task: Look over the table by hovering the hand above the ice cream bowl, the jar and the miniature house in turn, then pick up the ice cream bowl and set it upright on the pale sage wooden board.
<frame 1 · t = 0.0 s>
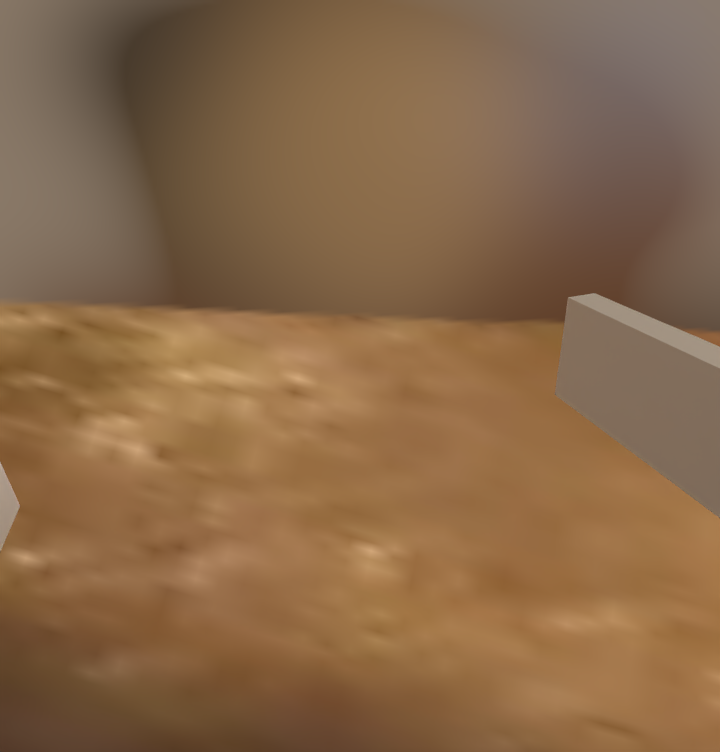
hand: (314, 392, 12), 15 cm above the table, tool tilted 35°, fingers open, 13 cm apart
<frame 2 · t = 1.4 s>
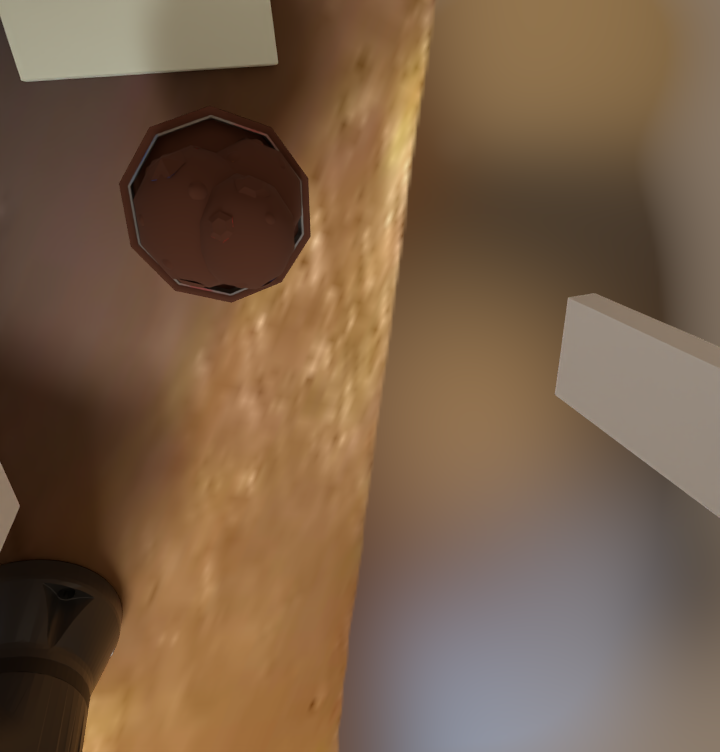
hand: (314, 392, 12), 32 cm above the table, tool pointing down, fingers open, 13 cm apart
ice cream bowl: (212, 194, 39), on the table
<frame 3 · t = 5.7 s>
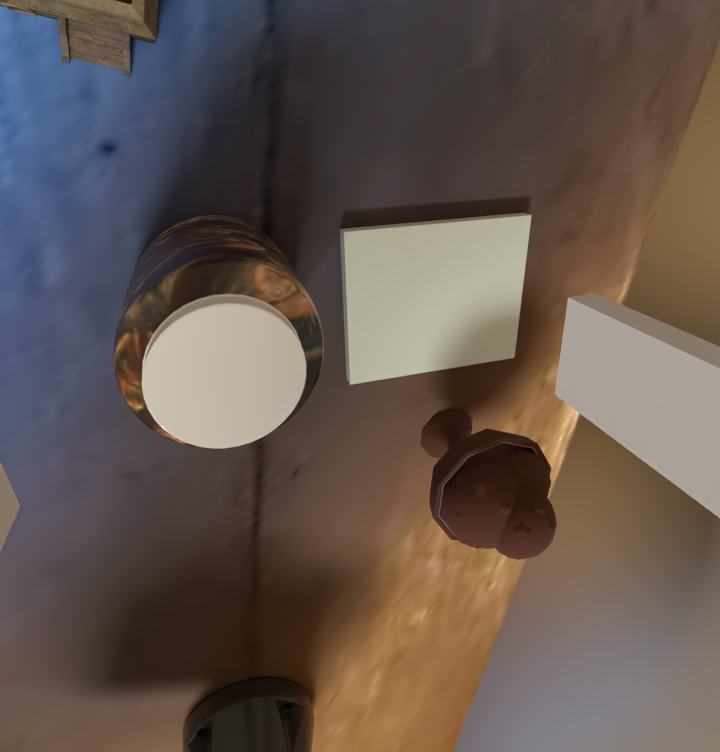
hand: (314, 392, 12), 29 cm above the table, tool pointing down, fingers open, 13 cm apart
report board: (432, 297, 45), on the table
jar: (214, 292, 40), on the table
ice cream bowl: (445, 432, 52), on the table
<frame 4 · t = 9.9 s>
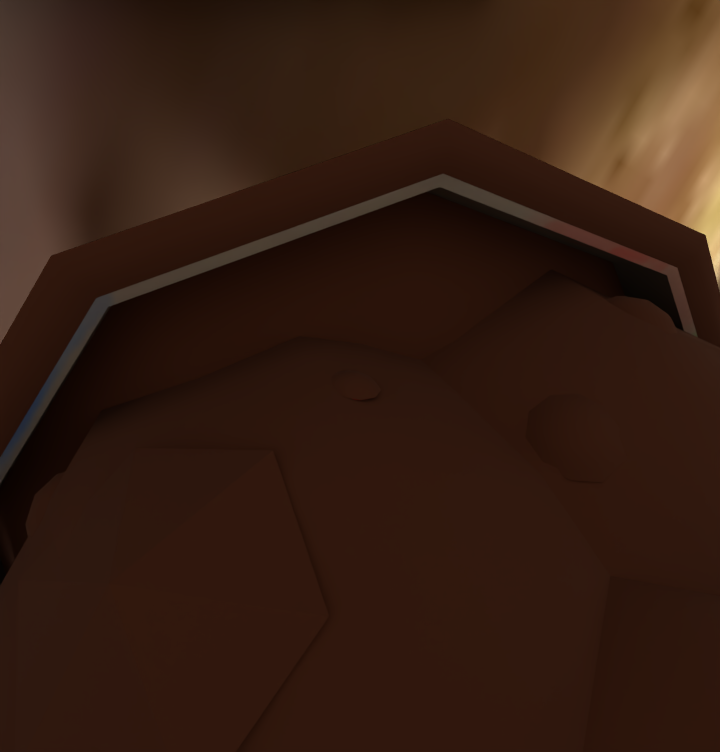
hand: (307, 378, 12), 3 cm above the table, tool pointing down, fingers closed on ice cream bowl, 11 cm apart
ice cream bowl: (286, 332, 15), on the table, touching gripper
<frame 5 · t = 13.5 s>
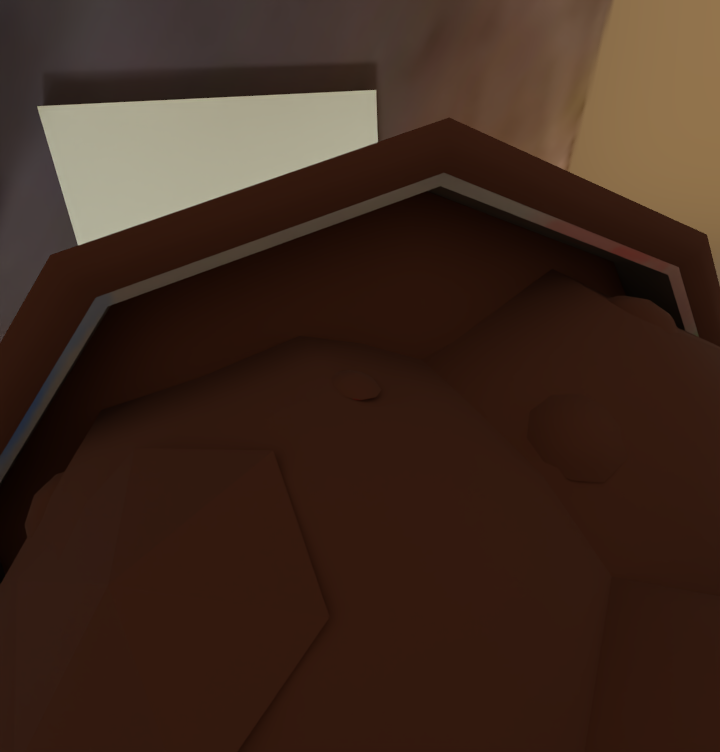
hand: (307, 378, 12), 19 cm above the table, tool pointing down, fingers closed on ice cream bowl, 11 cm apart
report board: (238, 229, 29), on the table
ice cream bowl: (286, 332, 15), point 16 cm above the table, touching gripper
when the fingers open (5 cm above the table, at t = 17.0 s): ice cream bowl drops 1 cm, resting on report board.
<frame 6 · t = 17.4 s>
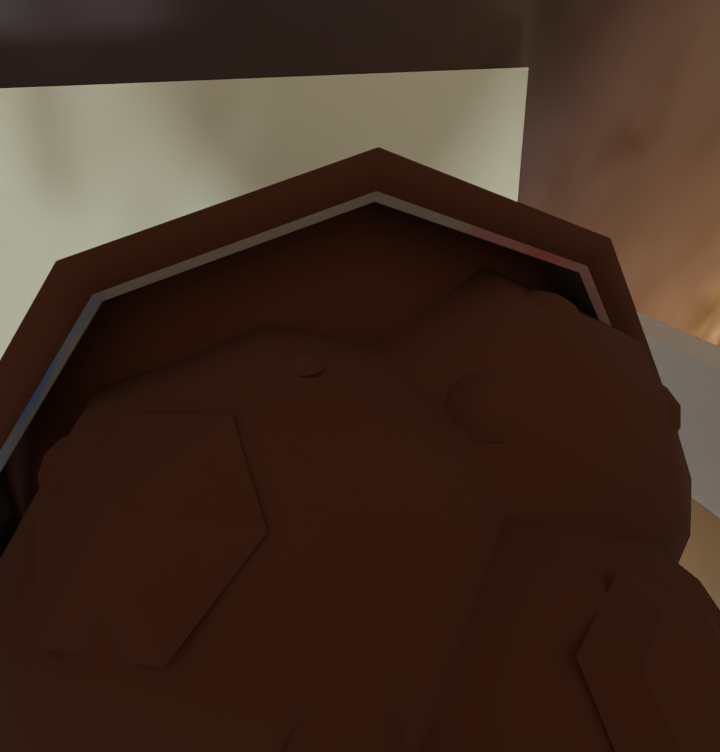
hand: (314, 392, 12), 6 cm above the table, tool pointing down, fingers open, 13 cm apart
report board: (274, 307, 17), on the table
ice cream bowl: (271, 321, 16), point 1 cm above the table, touching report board
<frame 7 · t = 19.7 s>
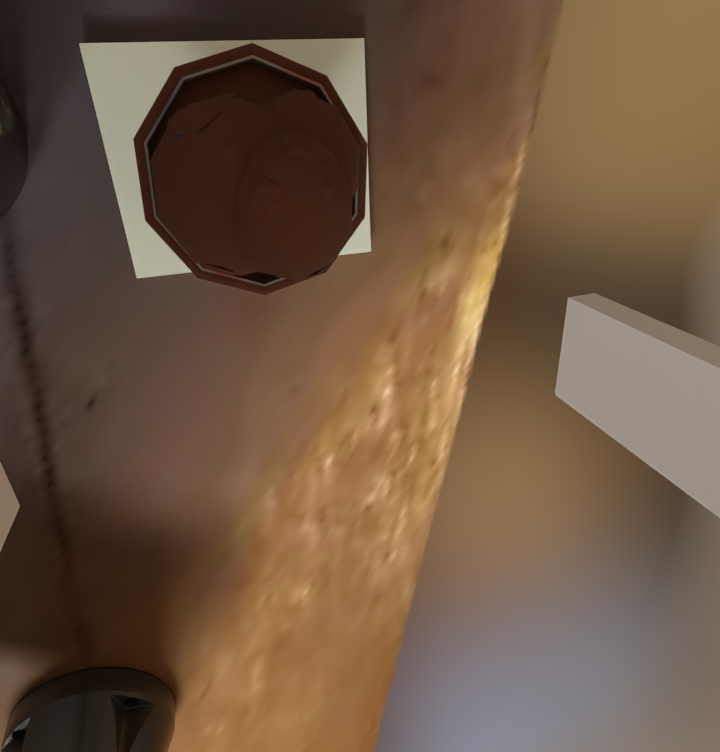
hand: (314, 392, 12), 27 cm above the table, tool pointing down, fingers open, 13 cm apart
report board: (244, 161, 34), on the table
ice cream bowl: (242, 163, 33), point 1 cm above the table, touching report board
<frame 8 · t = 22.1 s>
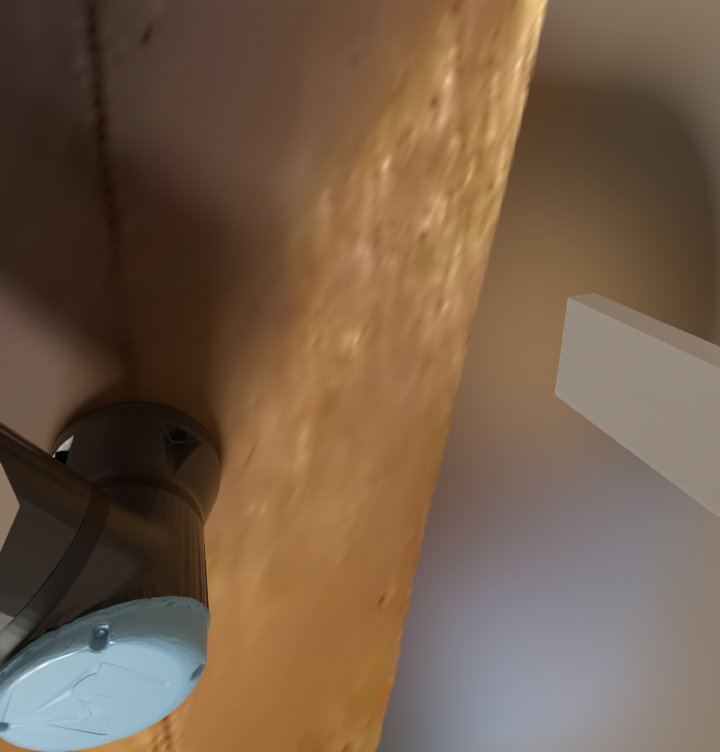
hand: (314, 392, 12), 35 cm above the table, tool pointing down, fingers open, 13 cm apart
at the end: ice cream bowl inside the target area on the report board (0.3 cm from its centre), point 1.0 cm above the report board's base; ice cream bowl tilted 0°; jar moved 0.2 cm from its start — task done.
